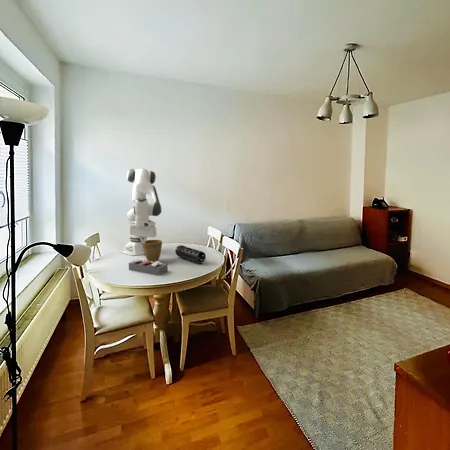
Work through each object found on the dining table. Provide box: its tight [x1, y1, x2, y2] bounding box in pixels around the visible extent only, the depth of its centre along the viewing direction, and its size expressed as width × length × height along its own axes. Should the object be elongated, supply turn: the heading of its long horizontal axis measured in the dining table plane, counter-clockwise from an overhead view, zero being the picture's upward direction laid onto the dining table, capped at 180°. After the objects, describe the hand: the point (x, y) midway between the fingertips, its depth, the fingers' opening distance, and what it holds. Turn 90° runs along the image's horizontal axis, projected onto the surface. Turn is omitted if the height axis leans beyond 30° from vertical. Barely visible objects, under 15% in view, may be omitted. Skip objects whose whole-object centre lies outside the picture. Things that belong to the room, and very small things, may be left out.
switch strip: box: [128, 259, 169, 276], centre depth 209 cm, size 26×10×5 cm, turn 65°
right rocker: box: [151, 260, 161, 267], centre depth 204 cm, size 3×6×2 cm, turn 155°
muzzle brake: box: [174, 244, 206, 265], centre depth 233 cm, size 10×28×10 cm, turn 45°
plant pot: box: [142, 239, 163, 262], centre depth 229 cm, size 15×15×16 cm
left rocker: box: [132, 259, 143, 263], centre depth 211 cm, size 3×6×2 cm, turn 155°
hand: (143, 242), depth 203 cm, fingers closed
